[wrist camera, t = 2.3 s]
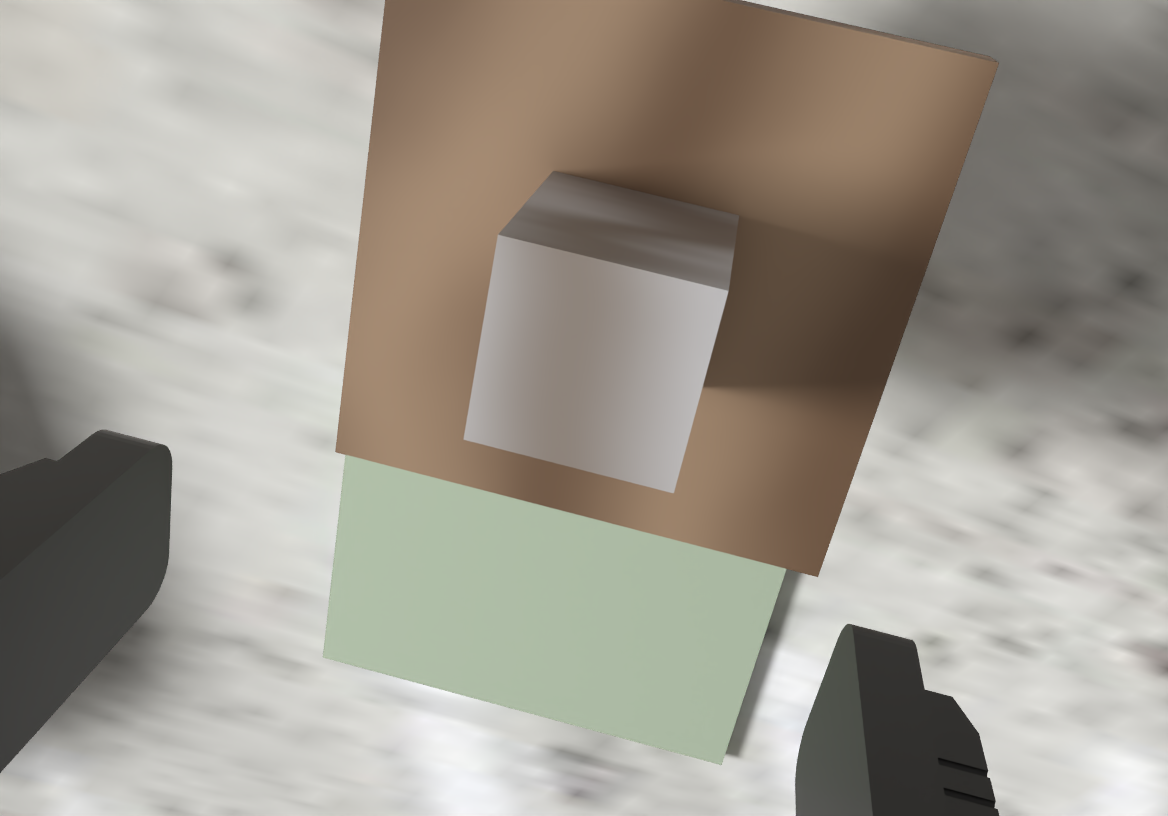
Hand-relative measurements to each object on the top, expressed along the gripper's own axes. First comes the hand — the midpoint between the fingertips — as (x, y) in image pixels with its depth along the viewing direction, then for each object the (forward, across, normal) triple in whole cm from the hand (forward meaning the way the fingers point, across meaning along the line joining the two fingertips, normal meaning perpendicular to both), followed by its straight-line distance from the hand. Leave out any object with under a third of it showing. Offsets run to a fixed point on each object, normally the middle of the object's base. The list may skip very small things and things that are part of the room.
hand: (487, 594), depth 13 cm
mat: (+23, +1, +15) cm, 28 cm away
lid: (+13, 0, 0) cm, 13 cm away
